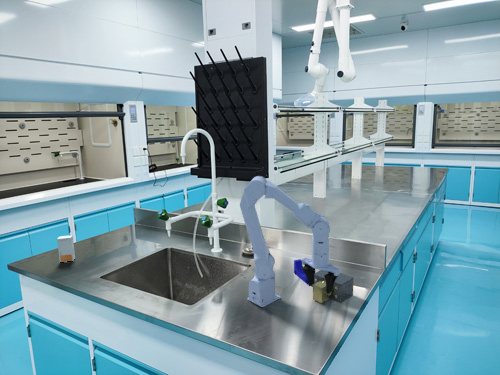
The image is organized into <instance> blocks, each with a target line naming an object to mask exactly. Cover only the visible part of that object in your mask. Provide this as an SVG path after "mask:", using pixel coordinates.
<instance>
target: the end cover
mask: <svg viewBox="0 0 500 375" xmlns="http://www.w3.org/2000/svg"><path fill="white" fill-rule="evenodd" d="M331 294H332V292H330V293H327V292H326V281H322V282H321V281H319V282H317V283H315V284H313V285H312V300H314V301H315V302H318V303H319V304H323V303H325V302H327V301H328V300H329V296H330V295H331Z"/></svg>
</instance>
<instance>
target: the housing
mask: <svg viewBox="0 0 500 375" xmlns="http://www.w3.org/2000/svg"><path fill="white" fill-rule="evenodd" d="M326 274H328V272H326V271H323V270H318V271H317V272H316V271H315V274H314V284H315V283H317V282H319V281H321V282H322V281H326V280H325V277H324V275H326ZM354 278H355V277H353V276H352V275H348V274H345V273H343V272H340V274H339V275H338V277H337V278H336V280H335V282H334V285H333V288H332V294H331V295H330V296H329V299H330V300H332V301H335V302H336V303H339V304H342V303H343V302H345V301H347V300H348V299H350V298H351V297H353V296H354V280H355V279H354ZM329 299H328V300H329Z"/></svg>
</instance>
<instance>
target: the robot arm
mask: <svg viewBox="0 0 500 375" xmlns="http://www.w3.org/2000/svg"><path fill="white" fill-rule="evenodd" d="M263 196H264V199H274V200H276V202H278V203H279V204H281V205H283V206H284V207H286V208H287V209H288V210H290V211H291V212H292V215H293V216H292V217H293V218H294V219H295V220H298V221H299V222H300V223H301V224H303V225H304V226H305V227H306V228H309V229H311V232H312V238H311V258H307V257H304V258H302V259H301V260H302V265H303V267H302V270H303V271H304V273H305V275H306V277H307V281H308V284H309V285H308V284H307V285H308V287H311V286H312V287H313V284H314V274H315V273H316V270H318V271H320V270H323V271H326V272H328V274H326V275H324V277H325V280H326V292H327V293H330V292H332V288H333V285H334V282H335V280H336V278H337V277H338V275H339V274H340V273H341V269H340V268H338V267H336V266H334V265H333V264H331V263H330V259H329V257H330V239H329V238H330V235H329V234H330V232H331V228H330V223H329V220H328V219H327V217H325V215H322V214H321V213H317V212H316V211H315V210H313V209H312V208H311V205H310V204H308V203H307V204H305V203H303V202H301V203H298V202H296V200H294V199H293V198H292V197H290V196H289V195H288V194H287V193H286V192H284V191H283V190H282V189H280V187H278V186H277V185H276V184H274V183H273V182H272V181H270V180H267V179H266V177H264V176H261V175H257V176H254V177H253V178H252V179H251V180H250V181H249V182H248V183H247V185H246V186H245V187H244V188H243V191H242V195H241V200H240V202H239V207H240V211H241V214H242V217H243V221H244V224H245V228H246V232H247V235H248V238H249V241H250V245H251V247H252V248H251V249H252V250H253V251H252V252H253V261H254V266H255V267H254V277H253V278H252V279H250V280H249V282H248V297H247V298H246V299H247V301H249V302H252V303H253V304H255V305H257V306H259V307H261V308H264V307H267V306H268V305H270V304H272V303H274V302H276V301H278V300H280V299H281V295H279V294H276V272H275V270H274V266H275V263H276V262H275V261H276V260H275V256H273V254H272V253H271V252H270V249H269V248H268V247H267V244H266V239H265V236H264V232H263V228H262V226H261V223H260V219H259V214H258V212H257V210H256V209H257V208H256V204H257V203H258V201H259V200H260V199H261V198H262V197H263Z"/></svg>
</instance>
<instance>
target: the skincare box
mask: <svg viewBox="0 0 500 375" xmlns="http://www.w3.org/2000/svg"><path fill="white" fill-rule="evenodd" d="M56 242H57V251H58V259H59V263H60V262H64V263H68V262H67V261H73V262H75V260H76V255H75V254H76V253H75V246H74V235H73V234H72V235H62V236H58V237H57V239H56ZM74 259H75V260H74Z"/></svg>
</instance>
